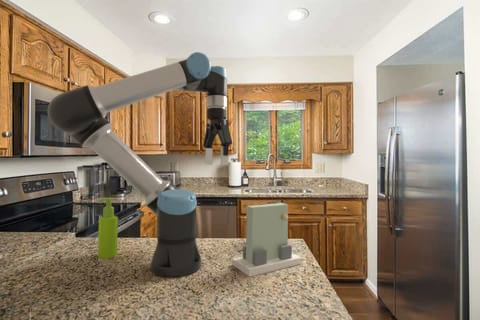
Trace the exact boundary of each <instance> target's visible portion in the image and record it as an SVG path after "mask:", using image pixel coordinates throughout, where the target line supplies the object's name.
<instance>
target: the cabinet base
mask: <svg viewBox="0 0 480 320" xmlns="http://www.w3.org/2000/svg"><path fill="white" fill-rule="evenodd" d="M292 249H293V247H292V245H291V244H288V245H285V246H280V258H277V259H272V260H268V261H267V250H265V249H264V250H259V251H254V258H253V264H251V263H250V262H248V261H246V244H245V245H242V256H240V257H239V256H238V257H234V258H232V263H231V264H232V266H233V267H235V268H236V269H237V270H239V271H240V272H242V273H243V274H245V275H246V276H248V278H250V277H255V276H258V275H263V274H266V273H267V274H268V273H270V272H274V271H278V270H282V269H283V270H284V269H286V268H290V267H294V266H299V265H301V264H302V257H301V256H299V255H296V254H294V253H293V252H292V251H293V250H292Z"/></svg>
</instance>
